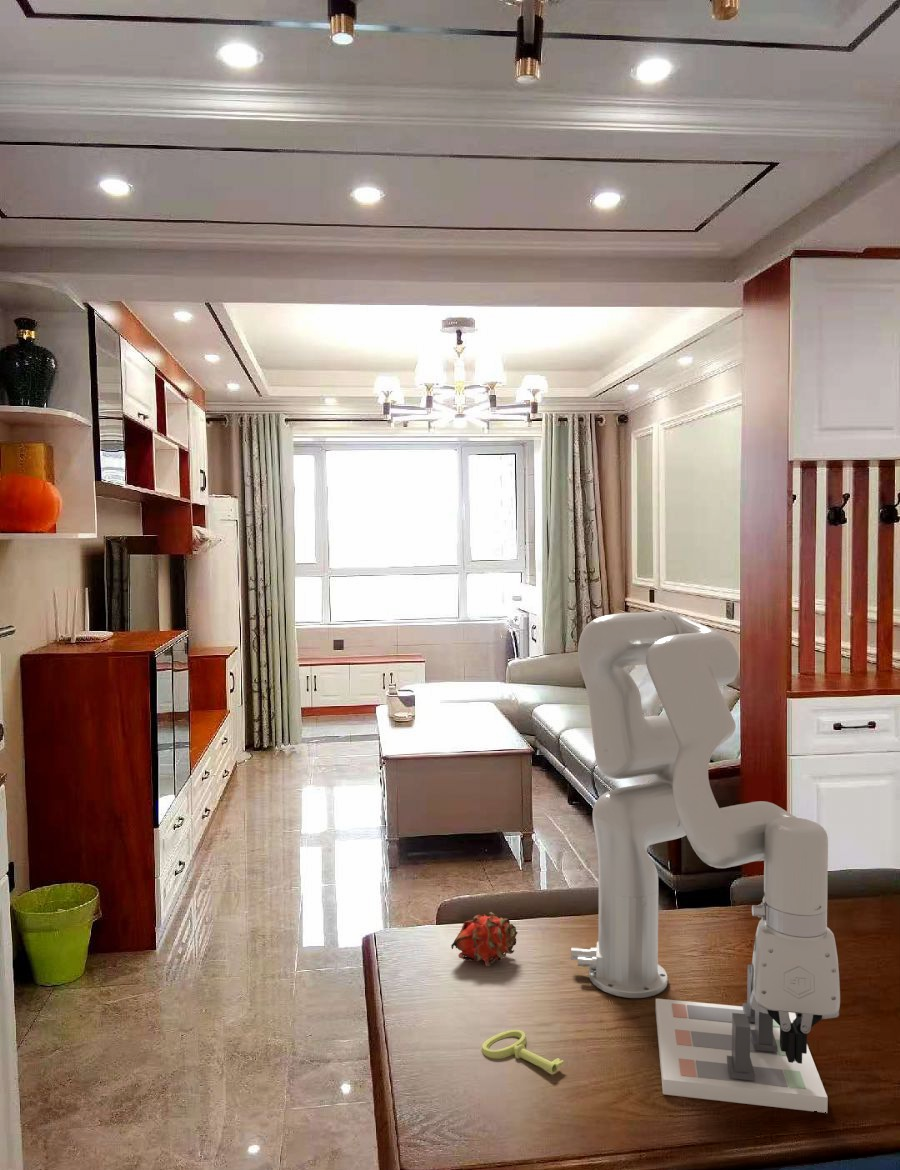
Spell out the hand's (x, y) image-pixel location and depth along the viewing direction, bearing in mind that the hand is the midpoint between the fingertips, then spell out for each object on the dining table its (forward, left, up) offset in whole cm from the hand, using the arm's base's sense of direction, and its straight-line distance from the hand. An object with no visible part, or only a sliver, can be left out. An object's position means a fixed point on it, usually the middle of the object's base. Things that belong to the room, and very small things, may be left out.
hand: (792, 1056), depth 110 cm
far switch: (-2, +14, -3) cm, 14 cm away
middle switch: (-2, +7, -3) cm, 8 cm away
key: (-36, +2, -6) cm, 36 cm away
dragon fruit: (-44, +28, -5) cm, 53 cm away
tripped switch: (-6, 0, -3) cm, 7 cm away
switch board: (-6, +7, -5) cm, 11 cm away
